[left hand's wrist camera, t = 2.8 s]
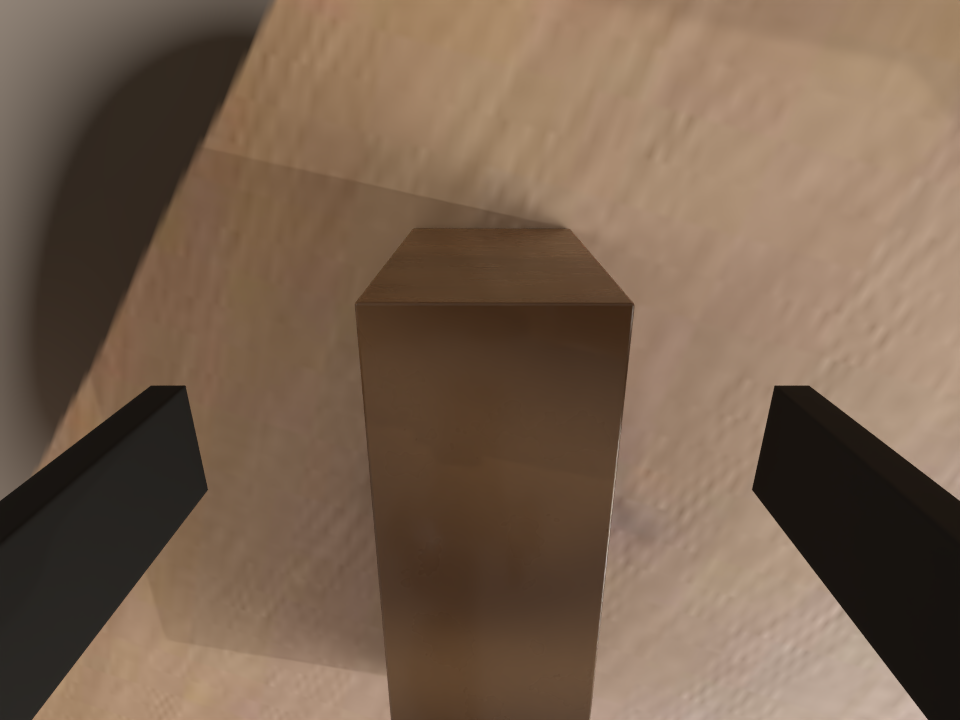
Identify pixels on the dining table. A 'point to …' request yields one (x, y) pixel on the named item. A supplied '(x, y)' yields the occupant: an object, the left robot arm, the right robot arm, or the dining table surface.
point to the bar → (492, 467)
